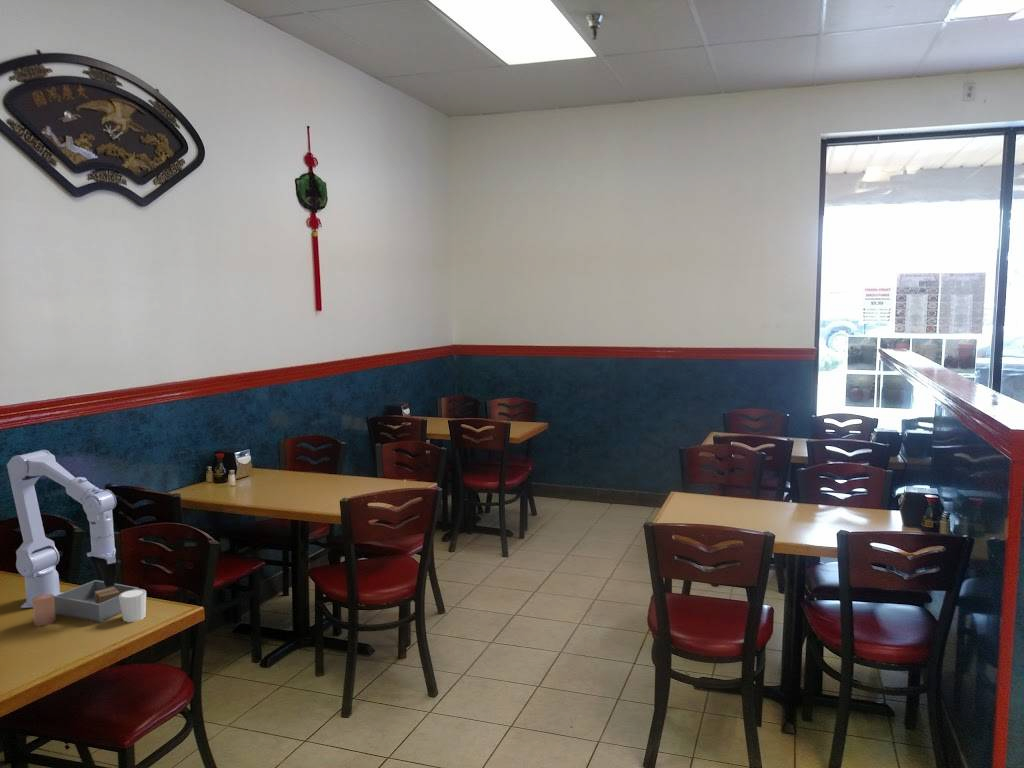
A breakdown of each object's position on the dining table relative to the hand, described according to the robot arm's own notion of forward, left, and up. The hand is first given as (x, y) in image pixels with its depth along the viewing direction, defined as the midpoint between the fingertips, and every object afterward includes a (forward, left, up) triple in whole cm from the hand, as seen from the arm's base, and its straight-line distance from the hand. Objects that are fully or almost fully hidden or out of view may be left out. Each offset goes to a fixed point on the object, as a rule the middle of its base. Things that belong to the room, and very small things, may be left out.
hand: (105, 582), depth 214 cm
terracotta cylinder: (+5, -14, -8) cm, 17 cm away
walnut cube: (0, 0, -8) cm, 8 cm away
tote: (-2, -3, -8) cm, 9 cm away
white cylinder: (+6, +9, -9) cm, 14 cm away
